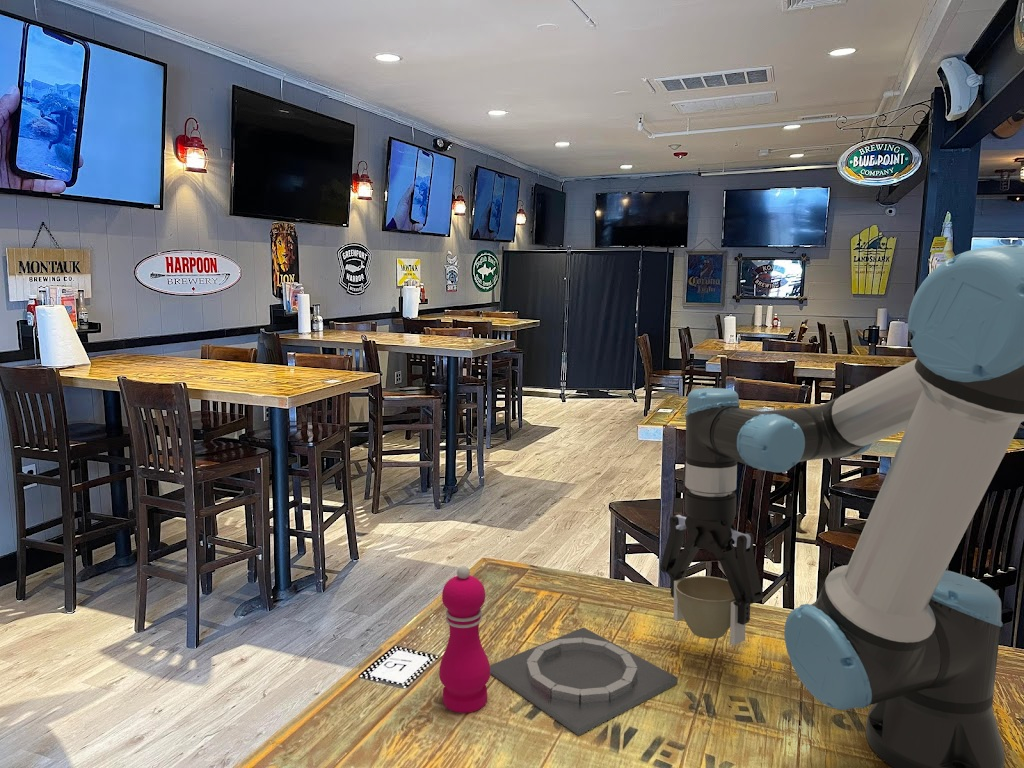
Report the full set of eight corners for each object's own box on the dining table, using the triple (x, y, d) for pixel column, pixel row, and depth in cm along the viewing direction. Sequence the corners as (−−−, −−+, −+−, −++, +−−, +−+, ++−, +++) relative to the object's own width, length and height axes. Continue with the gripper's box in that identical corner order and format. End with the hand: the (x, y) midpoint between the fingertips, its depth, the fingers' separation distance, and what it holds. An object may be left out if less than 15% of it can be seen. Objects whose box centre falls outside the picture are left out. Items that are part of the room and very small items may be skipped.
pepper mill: (454, 721, 99) (452, 581, 96) (431, 696, 105) (428, 563, 102) (500, 705, 103) (499, 569, 100) (475, 681, 109) (473, 553, 106)
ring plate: (677, 683, 108) (677, 669, 108) (578, 736, 96) (578, 720, 96) (583, 632, 124) (583, 620, 123) (488, 672, 111) (488, 658, 111)
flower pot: (744, 649, 108) (745, 603, 107) (675, 644, 110) (675, 598, 109) (738, 620, 118) (739, 577, 117) (674, 615, 120) (675, 573, 119)
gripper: (792, 501, 105) (787, 649, 107) (668, 472, 122) (667, 600, 125) (762, 511, 100) (757, 665, 103) (638, 480, 118) (637, 612, 120)
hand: (708, 629), depth 114 cm, fingers closed on flower pot, 10 cm apart
